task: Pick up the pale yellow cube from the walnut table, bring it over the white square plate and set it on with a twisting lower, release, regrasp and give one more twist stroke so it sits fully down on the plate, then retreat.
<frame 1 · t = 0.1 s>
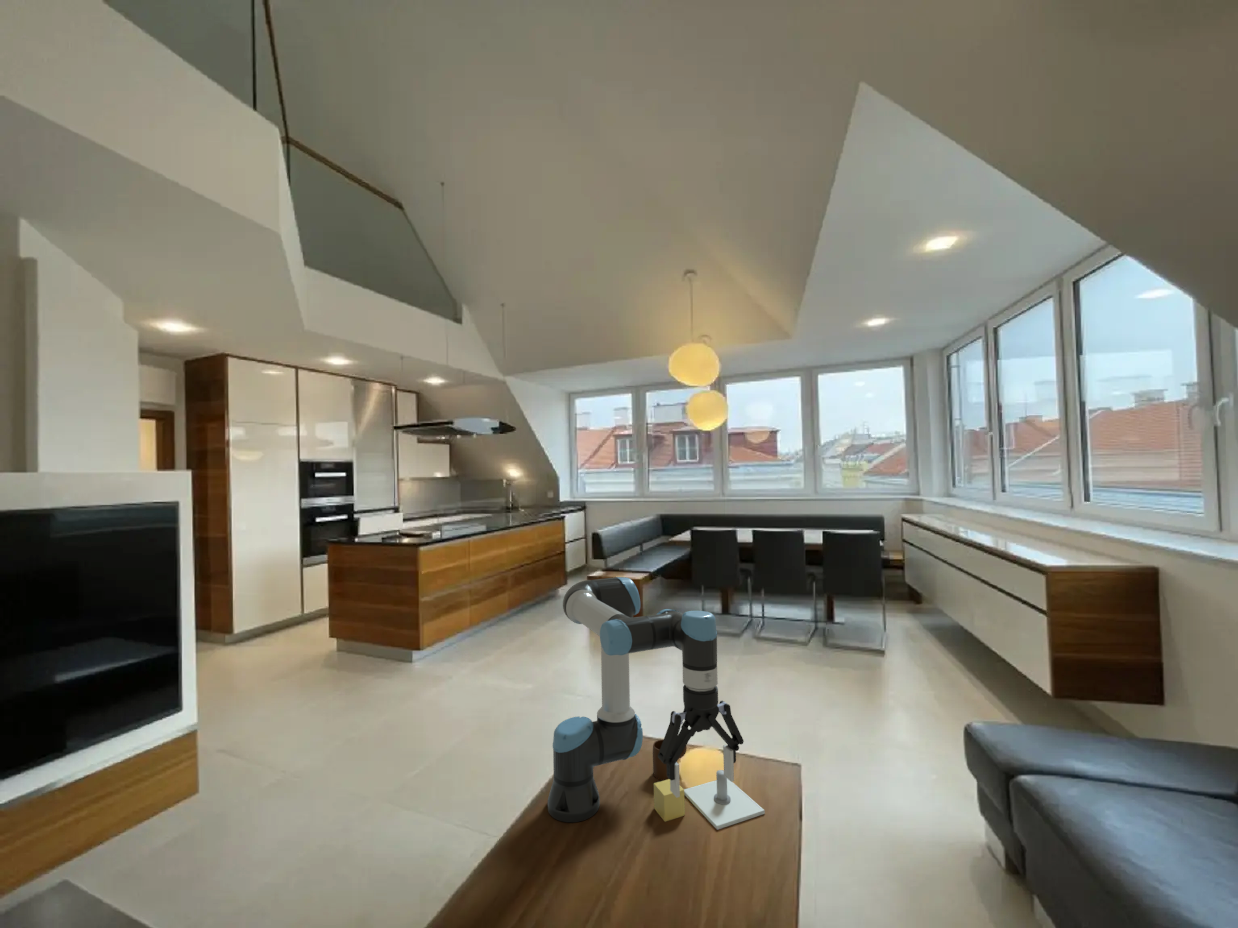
hand: (702, 785, 108), 28 cm above the table, fingers open, 13 cm apart
white square plate: (722, 802, 146), on the table
pale yellow cube: (669, 811, 143), on the table
mug: (670, 773, 162), on the table
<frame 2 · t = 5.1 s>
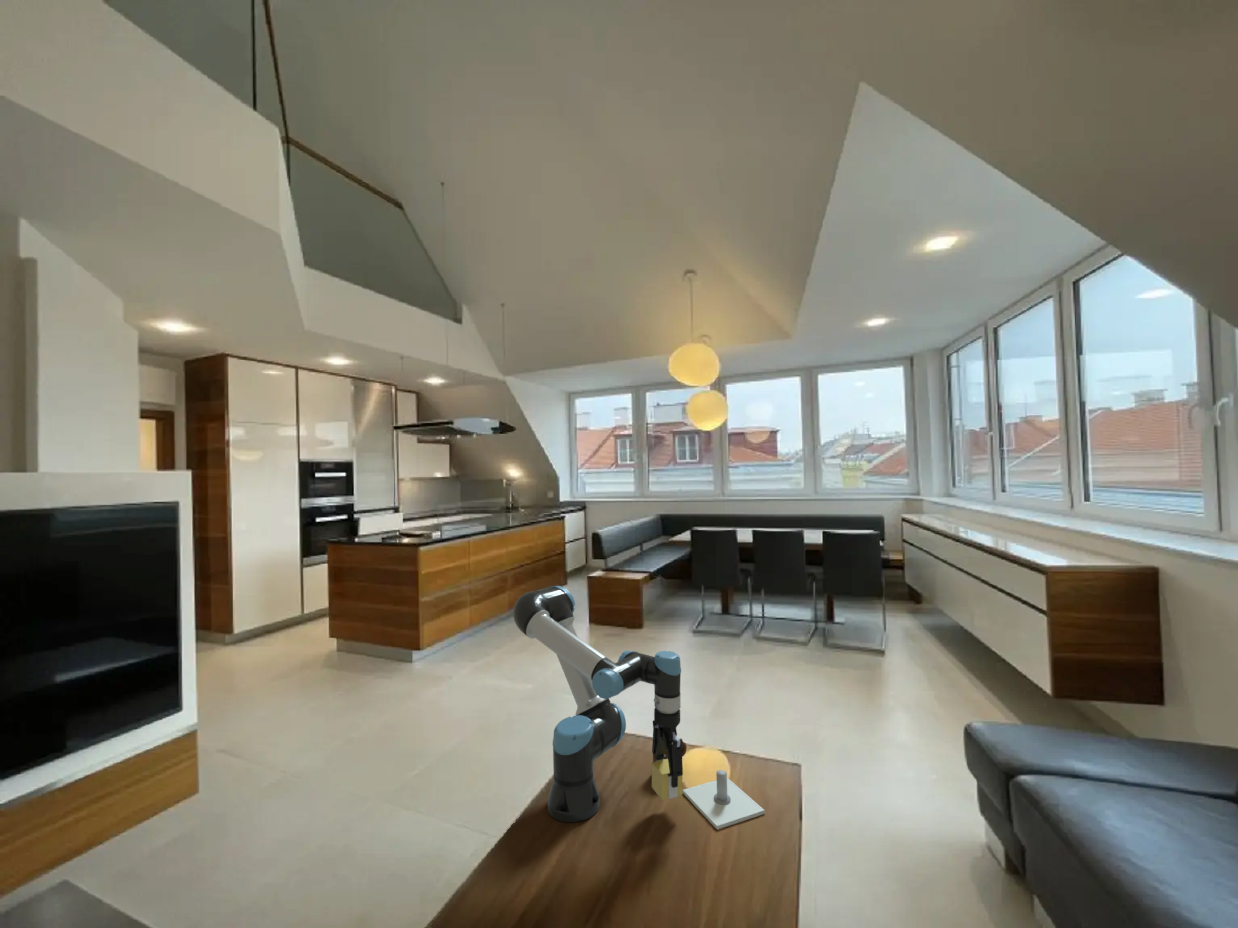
hand: (666, 789, 143), 6 cm above the table, fingers closed on pale yellow cube, 6 cm apart
pale yellow cube: (666, 790, 143), point 6 cm above the table, touching gripper
everything else where it was.
when the fingers open (3 cm above the table, at t = 9.1 s): pale yellow cube stays where it is, resting on white square plate.
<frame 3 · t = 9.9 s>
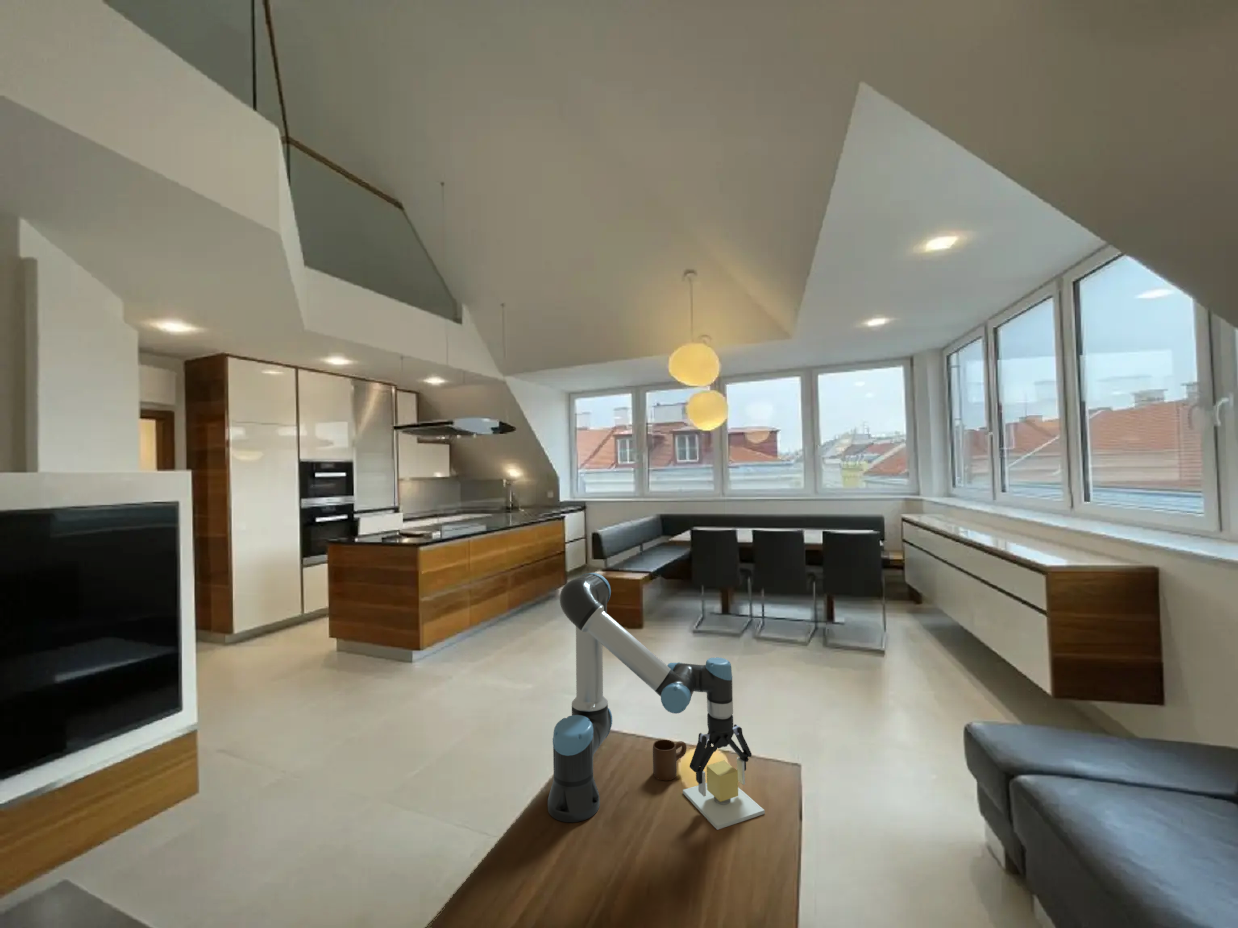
hand: (721, 787, 147), 4 cm above the table, fingers open, 13 cm apart
pale yellow cube: (722, 792, 146), point 3 cm above the table, touching white square plate
everything else where it was.
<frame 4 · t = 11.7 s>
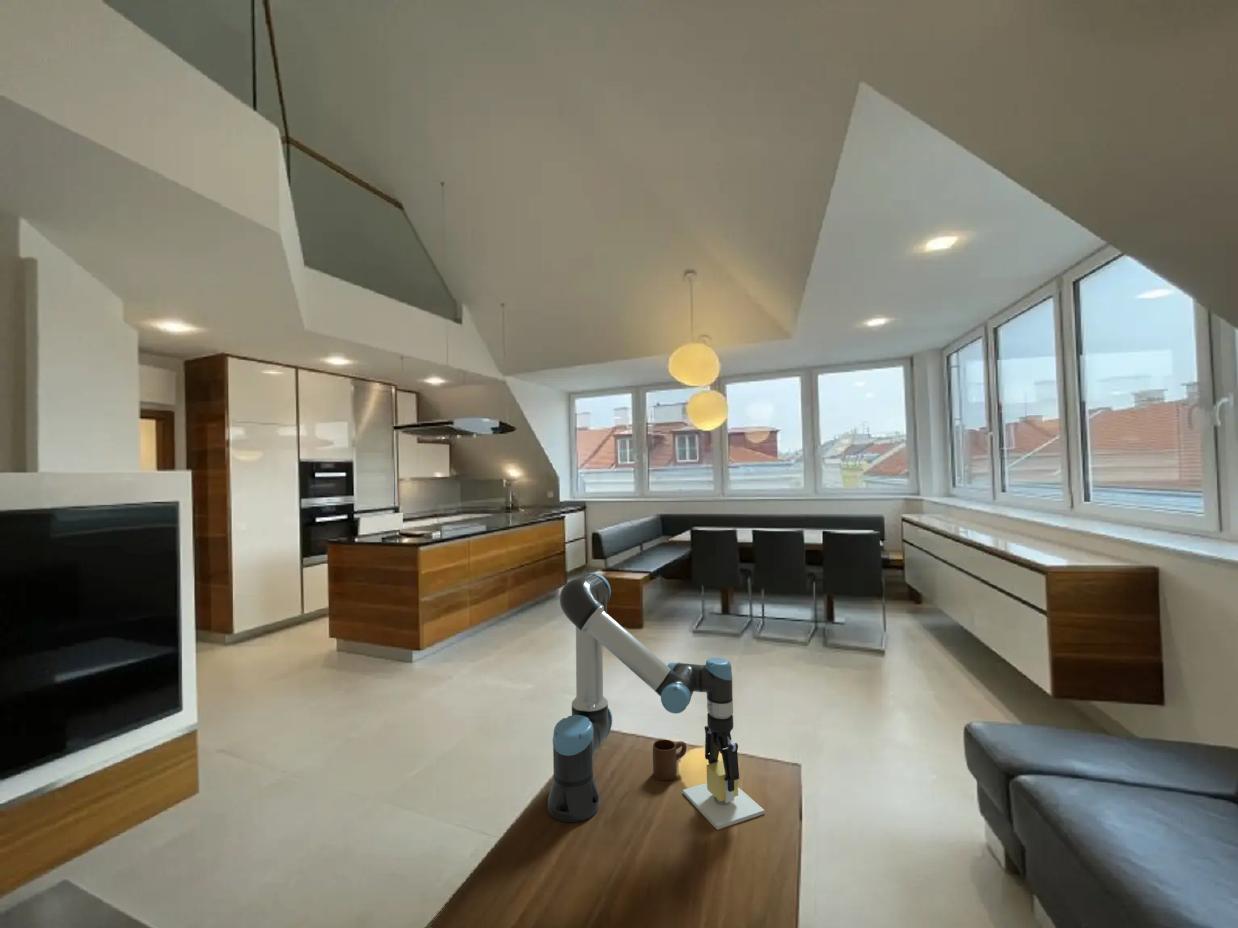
hand: (722, 793, 146), 3 cm above the table, fingers closed on pale yellow cube, 6 cm apart
pale yellow cube: (722, 792, 147), point 3 cm above the table, touching gripper, white square plate
everything else where it was.
when the fingers open (4 cm above the table, at t = 12.5 s): pale yellow cube drops 1 cm, resting on white square plate.
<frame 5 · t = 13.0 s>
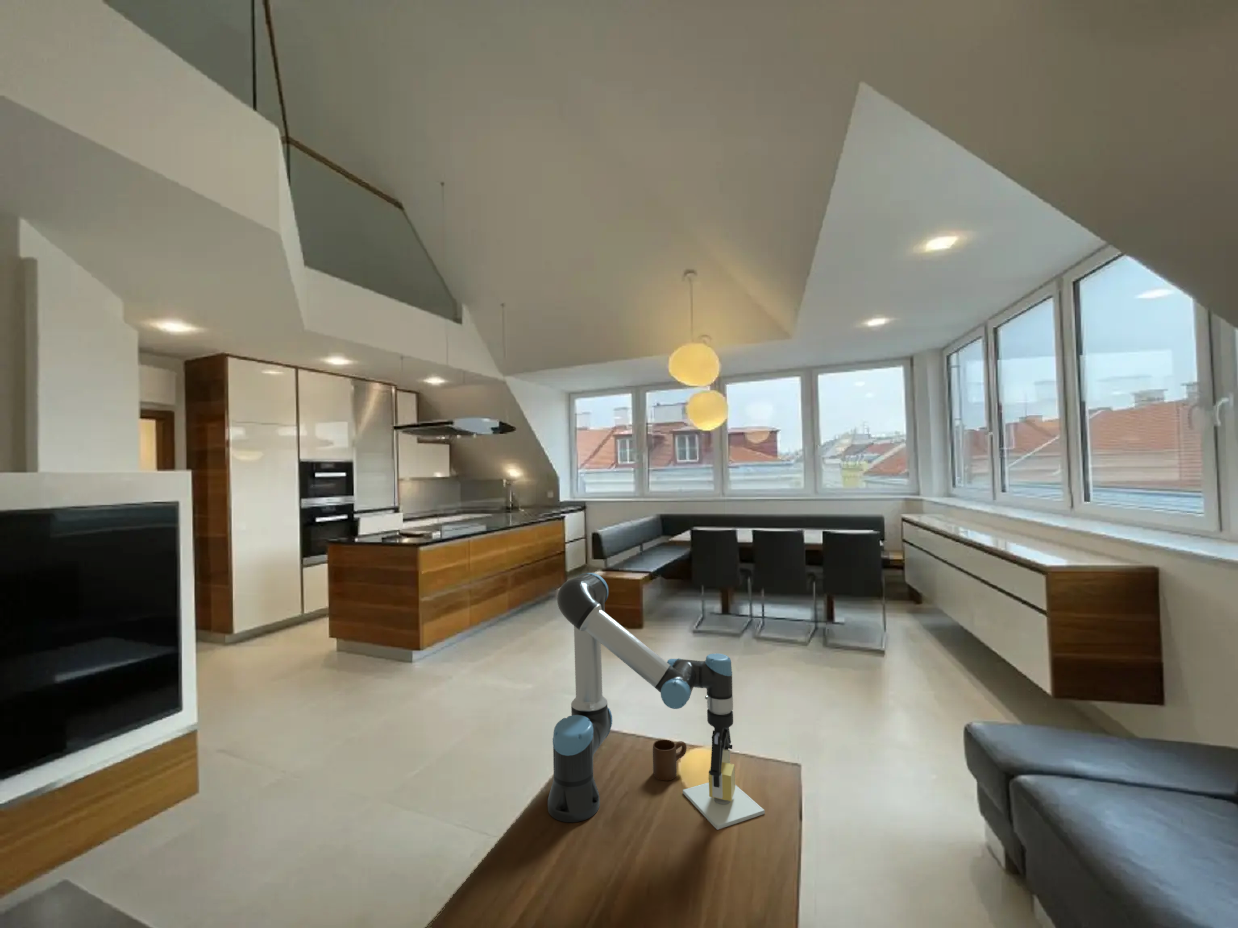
hand: (721, 783, 147), 5 cm above the table, fingers open, 13 cm apart
pale yellow cube: (722, 792, 146), point 3 cm above the table, touching white square plate
everything else where it was.
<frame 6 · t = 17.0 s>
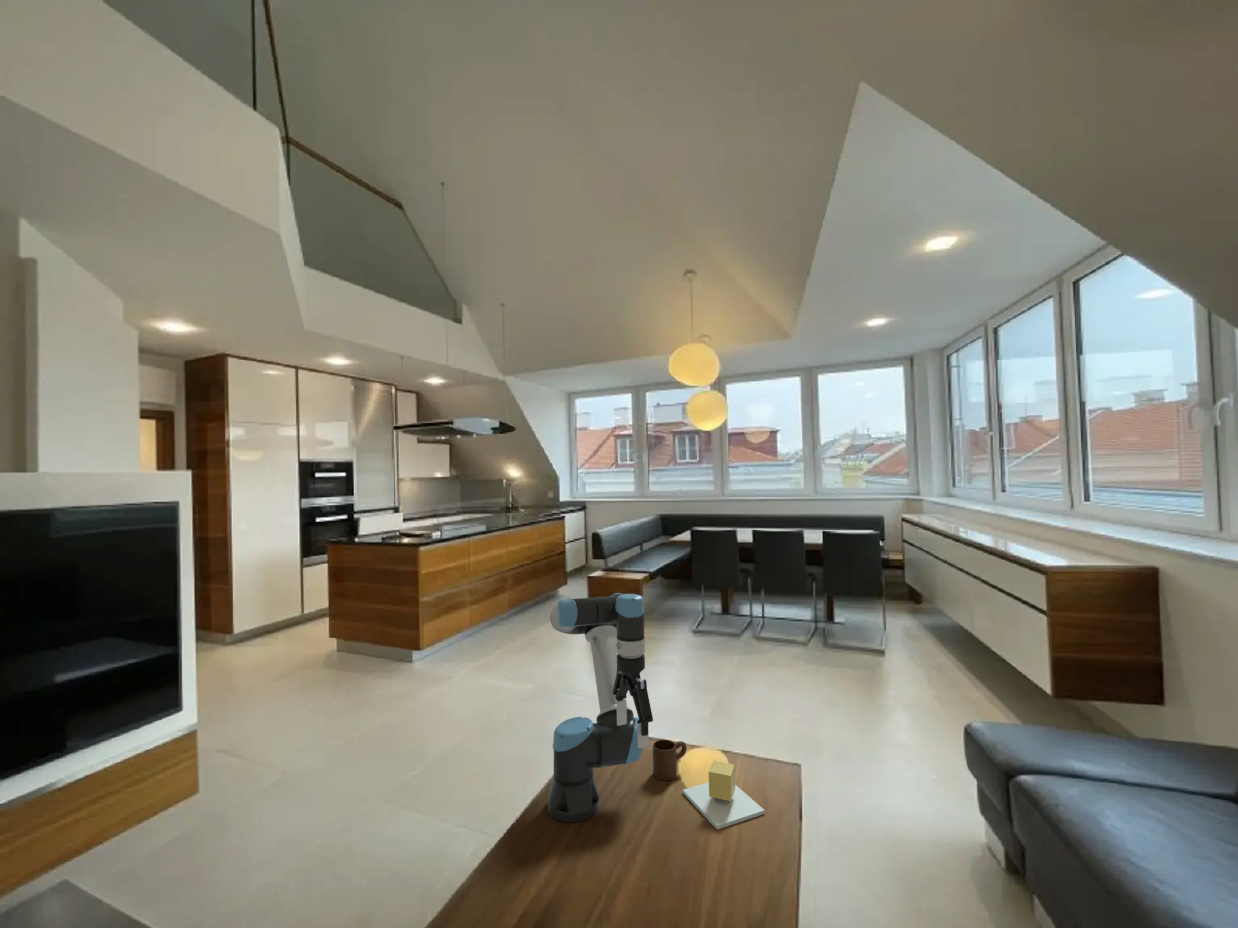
hand: (632, 735, 133), 27 cm above the table, fingers open, 13 cm apart
nothing on the table moved.
at the end: pale yellow cube 0.1 cm off-centre on the white square plate, point 3.0 cm above the white square plate's base; pale yellow cube tilted 0°; the gripper is holding nothing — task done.
